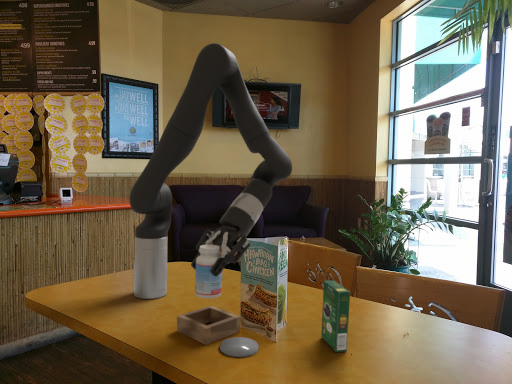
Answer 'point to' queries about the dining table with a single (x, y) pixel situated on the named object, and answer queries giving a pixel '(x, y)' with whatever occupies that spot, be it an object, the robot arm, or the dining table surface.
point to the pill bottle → (207, 273)
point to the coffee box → (335, 315)
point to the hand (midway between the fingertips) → (203, 270)
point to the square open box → (220, 328)
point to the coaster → (239, 347)
